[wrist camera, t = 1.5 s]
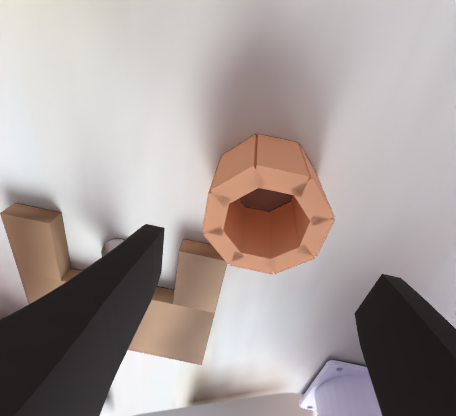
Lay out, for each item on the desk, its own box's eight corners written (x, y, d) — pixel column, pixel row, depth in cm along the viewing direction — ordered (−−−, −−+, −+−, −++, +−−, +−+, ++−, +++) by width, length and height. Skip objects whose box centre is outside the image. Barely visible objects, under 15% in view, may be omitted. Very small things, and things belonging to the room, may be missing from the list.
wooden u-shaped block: (229, 248, 18) (227, 261, 17) (204, 351, 24) (201, 365, 23) (15, 203, 17) (0, 213, 16) (47, 318, 24) (37, 330, 23)
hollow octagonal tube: (328, 149, 14) (351, 185, 10) (295, 231, 16) (304, 281, 13) (226, 126, 14) (214, 155, 10) (210, 212, 16) (197, 258, 13)
